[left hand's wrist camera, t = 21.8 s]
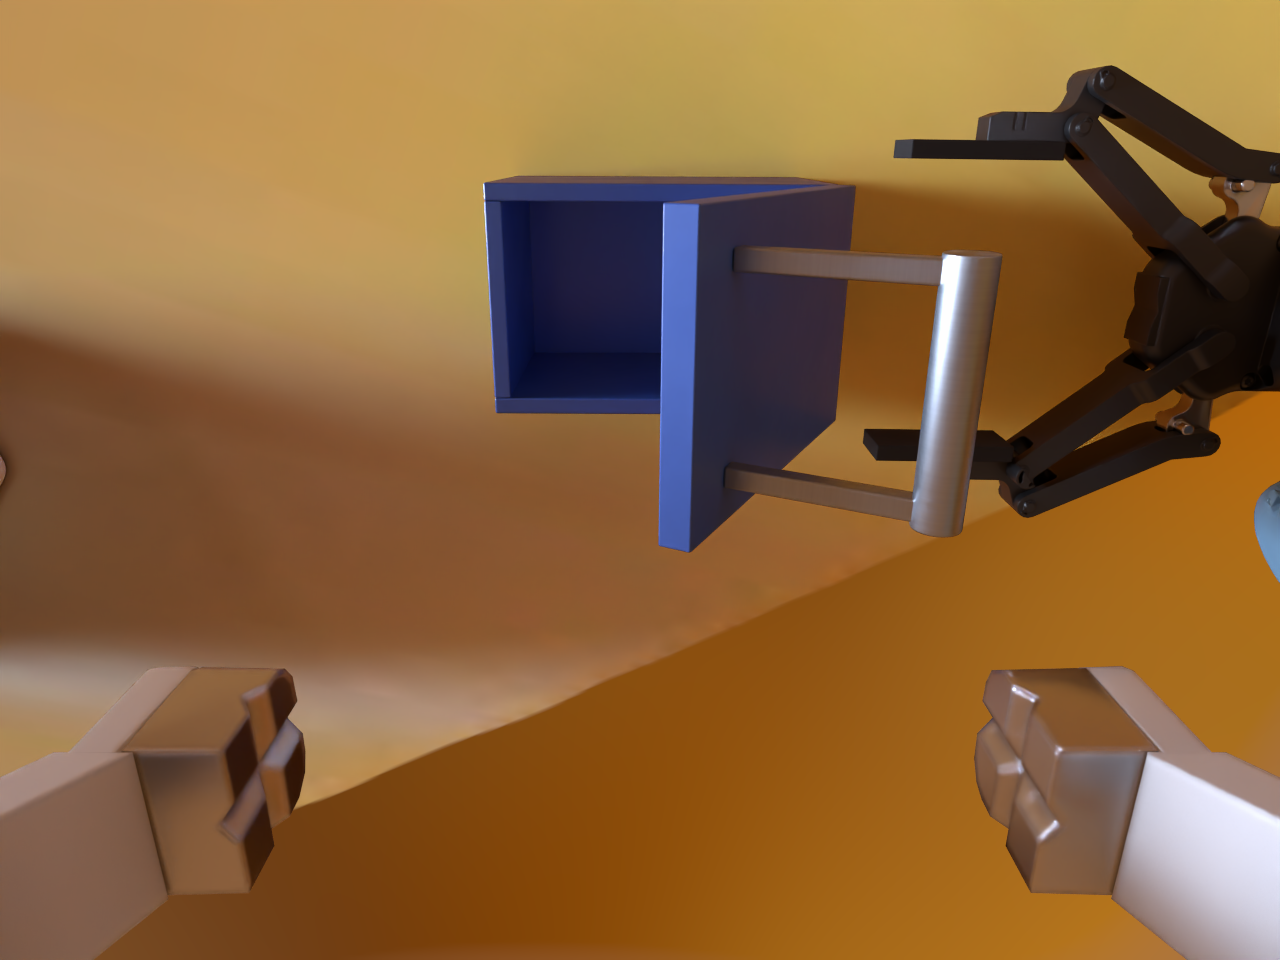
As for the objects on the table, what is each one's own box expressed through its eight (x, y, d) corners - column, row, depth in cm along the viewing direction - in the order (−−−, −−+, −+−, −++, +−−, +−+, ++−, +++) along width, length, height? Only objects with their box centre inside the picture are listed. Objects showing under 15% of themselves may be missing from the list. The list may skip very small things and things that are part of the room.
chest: (524, 361, 49) (495, 413, 39) (516, 176, 46) (482, 182, 36) (785, 363, 49) (821, 415, 39) (797, 177, 46) (839, 184, 36)
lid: (657, 546, 26) (939, 609, 23) (662, 202, 23) (995, 213, 19) (812, 417, 39) (1007, 444, 36) (829, 184, 36) (1048, 189, 32)
